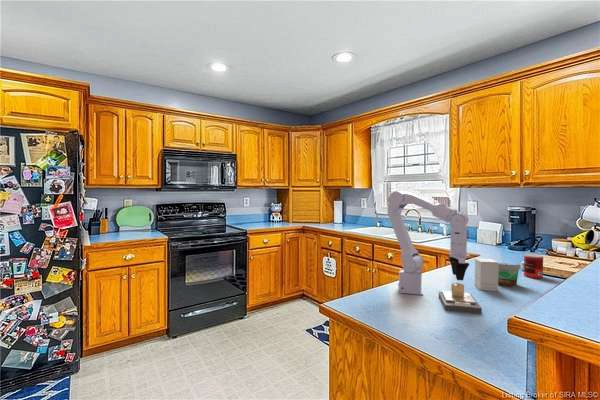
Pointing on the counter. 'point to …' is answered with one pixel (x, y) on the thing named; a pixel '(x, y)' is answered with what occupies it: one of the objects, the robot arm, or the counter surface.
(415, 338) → the counter surface
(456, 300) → the platform
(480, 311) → the scale
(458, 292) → the cylinder
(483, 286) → the supplement box
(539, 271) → the canned food
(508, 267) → the food container
